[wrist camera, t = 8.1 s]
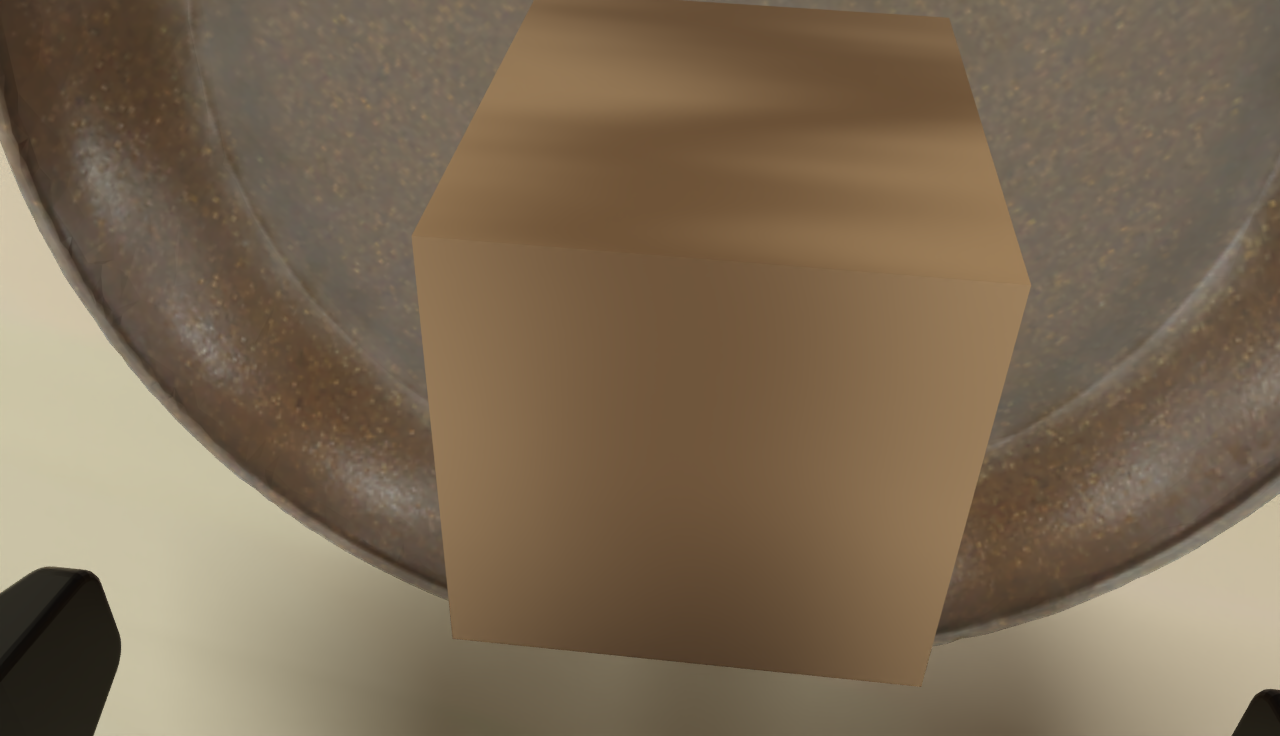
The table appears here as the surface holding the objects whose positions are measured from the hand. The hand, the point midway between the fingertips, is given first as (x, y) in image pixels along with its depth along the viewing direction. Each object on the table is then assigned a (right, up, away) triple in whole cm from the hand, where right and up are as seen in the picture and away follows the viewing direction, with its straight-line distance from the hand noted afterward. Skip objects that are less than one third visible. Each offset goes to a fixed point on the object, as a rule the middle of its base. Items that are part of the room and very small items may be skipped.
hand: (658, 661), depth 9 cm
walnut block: (+1, +5, +7) cm, 8 cm away
